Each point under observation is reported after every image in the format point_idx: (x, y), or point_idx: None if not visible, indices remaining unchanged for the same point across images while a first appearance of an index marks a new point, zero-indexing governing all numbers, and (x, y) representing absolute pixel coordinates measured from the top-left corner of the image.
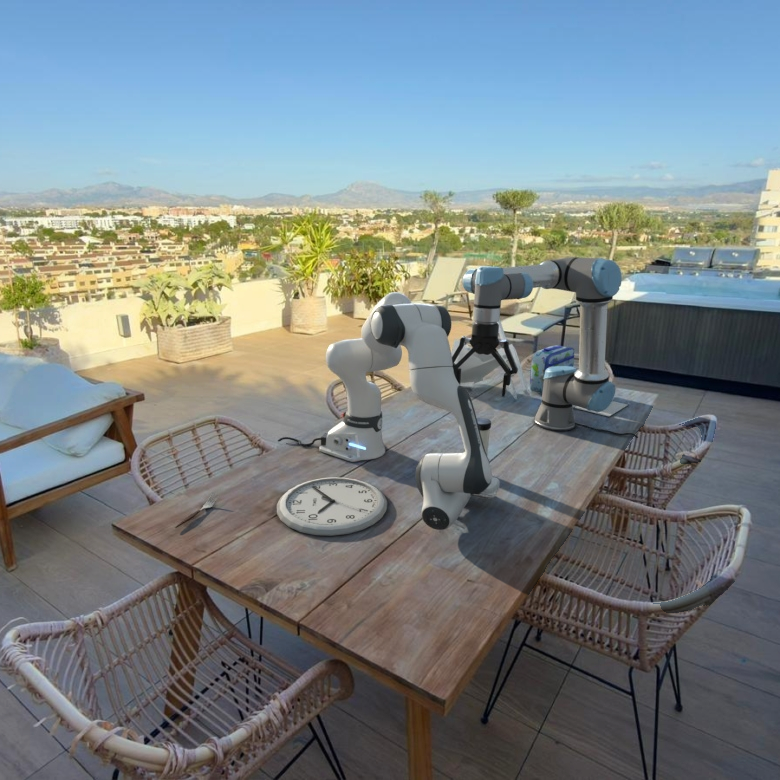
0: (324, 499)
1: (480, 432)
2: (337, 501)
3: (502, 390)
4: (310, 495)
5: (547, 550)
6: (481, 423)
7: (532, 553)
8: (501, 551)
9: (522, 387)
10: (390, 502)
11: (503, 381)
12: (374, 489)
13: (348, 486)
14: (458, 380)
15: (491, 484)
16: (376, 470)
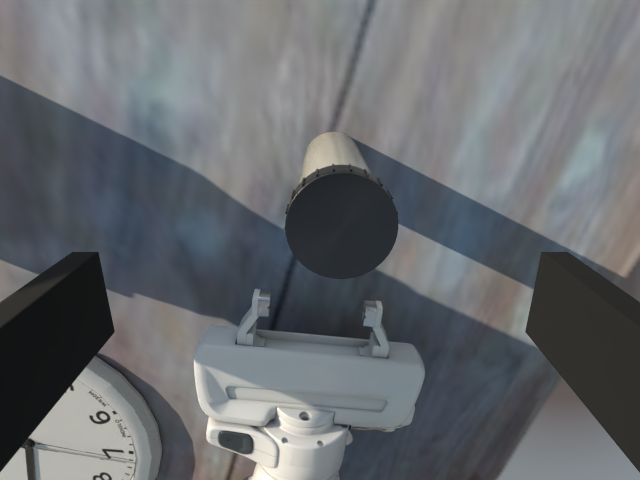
0: None
1: None
2: (37, 439)
3: (558, 369)
4: None
5: (513, 451)
6: (347, 269)
7: (483, 465)
8: (423, 475)
9: None
10: (148, 388)
11: (630, 457)
12: (85, 382)
13: None
14: (40, 415)
15: (403, 410)
16: (15, 242)
